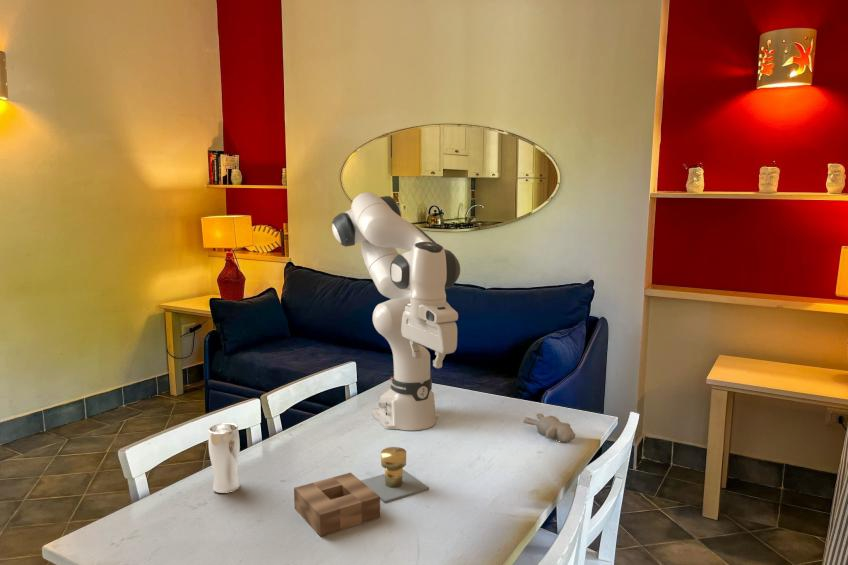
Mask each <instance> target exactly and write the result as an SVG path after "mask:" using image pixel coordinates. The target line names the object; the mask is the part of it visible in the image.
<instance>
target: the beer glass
mask: <svg viewBox="0 0 848 565" xmlns="http://www.w3.org/2000/svg"><path fill="white" fill-rule="evenodd" d="M240 448H241V446H240V434H239V426H238V425H237V424H236V423H231V422H224V423H223V422H222V423H217V424H214V425H212V426H210V427H209V429H208V454H209V458H210V464H211V466H212V471H213V483H212V491H213V490H215V491H216V492H223V493H226V492H230V491H234V490H236V489H237V488H238V487H239V488H240V482H239V478H238V466H239V465H238V464H239V457H240V450H241V449H240ZM239 488H238V489H239ZM238 489H237V490H238ZM237 490H236V491H237ZM234 492H235V491H234Z"/></svg>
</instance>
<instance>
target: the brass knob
mask: <svg viewBox="0 0 848 565" xmlns="http://www.w3.org/2000/svg"><path fill="white" fill-rule="evenodd" d="M380 465H381V467H382V468H383V469H384V474H385V485H386V486H387V487H390V488H397V487H400V486H402V484H403V470H404V468H405V467H406V466H407V450H406V449H405V448H402V447H398V446H390V447H386V448H384V449H382V450H381V451H380Z"/></svg>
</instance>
